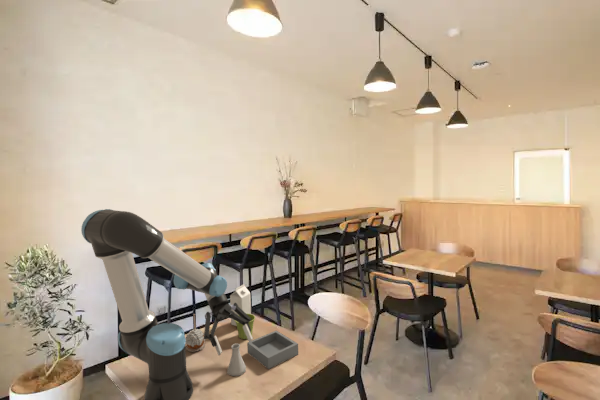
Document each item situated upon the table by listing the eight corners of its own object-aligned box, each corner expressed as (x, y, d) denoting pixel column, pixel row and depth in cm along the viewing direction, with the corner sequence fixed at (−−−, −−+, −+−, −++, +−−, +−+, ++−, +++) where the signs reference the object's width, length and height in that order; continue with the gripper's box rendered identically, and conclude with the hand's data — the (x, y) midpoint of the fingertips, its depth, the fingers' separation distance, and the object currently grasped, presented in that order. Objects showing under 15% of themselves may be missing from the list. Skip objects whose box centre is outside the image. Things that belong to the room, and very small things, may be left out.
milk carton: (231, 324, 159) (229, 287, 157) (240, 318, 165) (238, 282, 163) (242, 328, 155) (241, 289, 154) (251, 321, 162) (250, 285, 160)
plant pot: (233, 332, 151) (233, 315, 150) (253, 329, 154) (253, 312, 153) (236, 343, 142) (235, 324, 141) (257, 339, 145) (256, 320, 144)
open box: (268, 369, 123) (268, 358, 123) (247, 352, 134) (247, 342, 134) (298, 354, 133) (298, 343, 132) (276, 340, 144) (276, 330, 144)
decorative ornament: (209, 345, 140) (207, 312, 139) (195, 354, 134) (193, 320, 132) (196, 341, 144) (194, 309, 143) (182, 349, 137) (180, 316, 136)
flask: (242, 377, 118) (241, 351, 117) (223, 375, 120) (222, 350, 119) (248, 366, 125) (248, 341, 124) (231, 364, 127) (230, 339, 126)
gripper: (239, 294, 145) (259, 338, 136) (184, 311, 129) (203, 363, 119) (245, 285, 141) (266, 331, 131) (189, 302, 124) (209, 356, 115)
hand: (236, 346), depth 125 cm, fingers open, 13 cm apart
